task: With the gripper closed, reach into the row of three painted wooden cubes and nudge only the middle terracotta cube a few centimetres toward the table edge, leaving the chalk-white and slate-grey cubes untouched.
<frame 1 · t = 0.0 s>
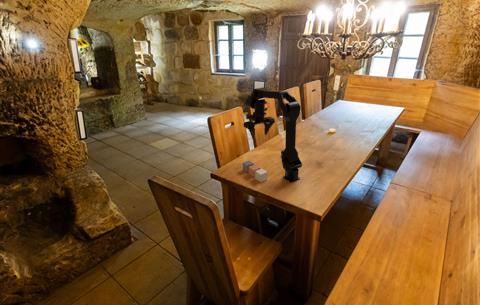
hand: (259, 136, 152), 14 cm above the table, fingers open, 9 cm apart
white cube: (261, 179, 136), on the table
grey cube: (248, 170, 145), on the table
terracotta cube: (254, 174, 140), on the table
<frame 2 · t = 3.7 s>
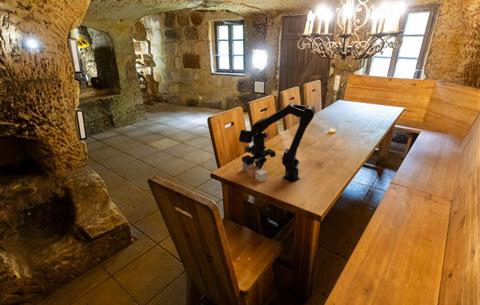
hand: (258, 170, 141), 1 cm above the table, fingers closed
terracotta cube: (252, 174, 140), on the table, touching gripper
everything else where it was.
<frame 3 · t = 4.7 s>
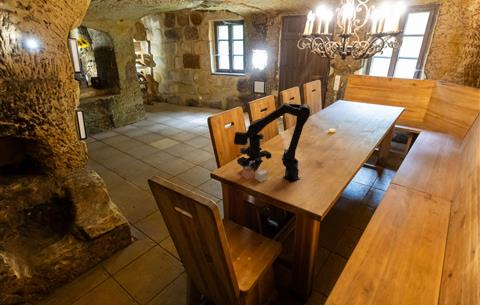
hand: (254, 172, 140), 1 cm above the table, fingers closed
terracotta cube: (248, 176, 138), on the table, touching gripper
everything else where it was.
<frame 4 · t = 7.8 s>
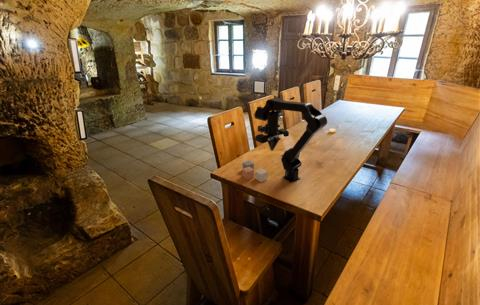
hand: (271, 150, 139), 12 cm above the table, fingers closed
terracotta cube: (248, 176, 138), on the table
everything else where it was.
at the end: terracotta cube moved 4.2 cm from its start; white cube moved 0.1 cm from its start; grey cube moved 0.1 cm from its start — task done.
